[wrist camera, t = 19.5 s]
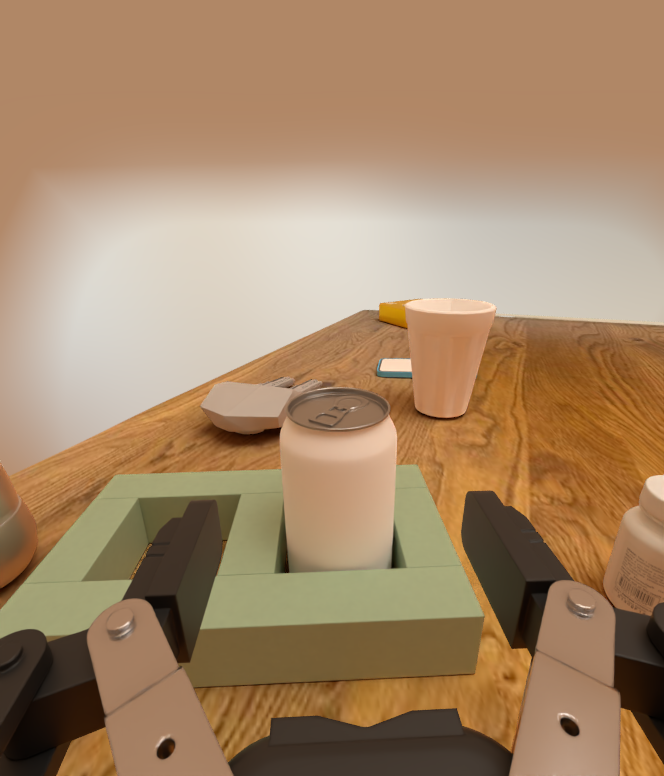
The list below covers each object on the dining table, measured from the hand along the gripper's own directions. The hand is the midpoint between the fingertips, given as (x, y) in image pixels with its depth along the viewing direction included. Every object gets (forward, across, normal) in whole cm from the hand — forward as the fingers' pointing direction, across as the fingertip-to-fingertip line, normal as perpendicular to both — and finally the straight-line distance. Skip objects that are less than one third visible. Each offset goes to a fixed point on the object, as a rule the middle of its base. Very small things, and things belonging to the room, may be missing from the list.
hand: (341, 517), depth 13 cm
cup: (+34, -14, +12) cm, 39 cm away
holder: (+9, +5, +12) cm, 16 cm away
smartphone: (+49, -16, +12) cm, 53 cm away
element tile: (+88, -25, +12) cm, 92 cm away
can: (+9, 0, +12) cm, 15 cm away
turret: (+35, +7, +12) cm, 38 cm away
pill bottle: (+6, -18, +12) cm, 23 cm away
